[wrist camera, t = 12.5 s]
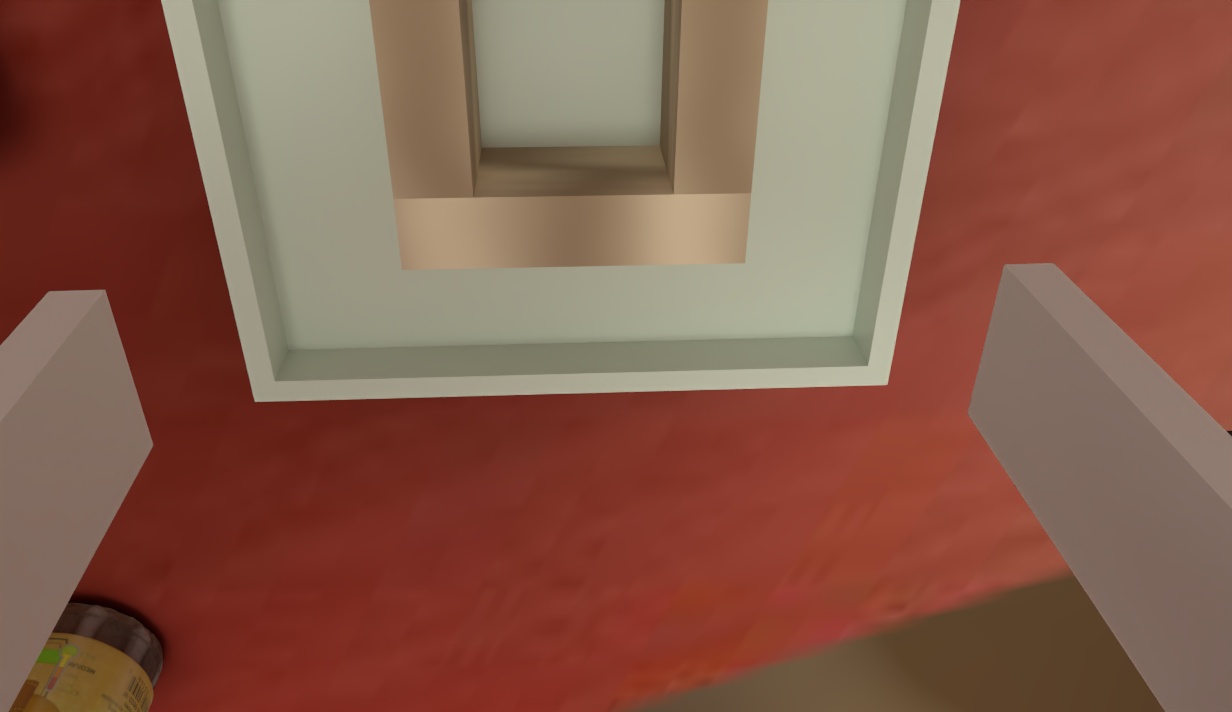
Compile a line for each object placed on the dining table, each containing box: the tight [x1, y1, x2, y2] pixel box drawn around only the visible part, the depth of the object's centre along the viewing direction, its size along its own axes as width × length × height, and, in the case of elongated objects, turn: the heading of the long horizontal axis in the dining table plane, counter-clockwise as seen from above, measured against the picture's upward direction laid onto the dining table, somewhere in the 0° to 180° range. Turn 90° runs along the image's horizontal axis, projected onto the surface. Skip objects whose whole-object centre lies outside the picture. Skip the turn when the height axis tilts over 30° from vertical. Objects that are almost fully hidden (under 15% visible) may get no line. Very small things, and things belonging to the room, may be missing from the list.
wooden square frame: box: [369, 0, 768, 270], centre depth 27 cm, size 10×10×4 cm
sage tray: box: [161, 0, 960, 402], centre depth 28 cm, size 22×22×3 cm
